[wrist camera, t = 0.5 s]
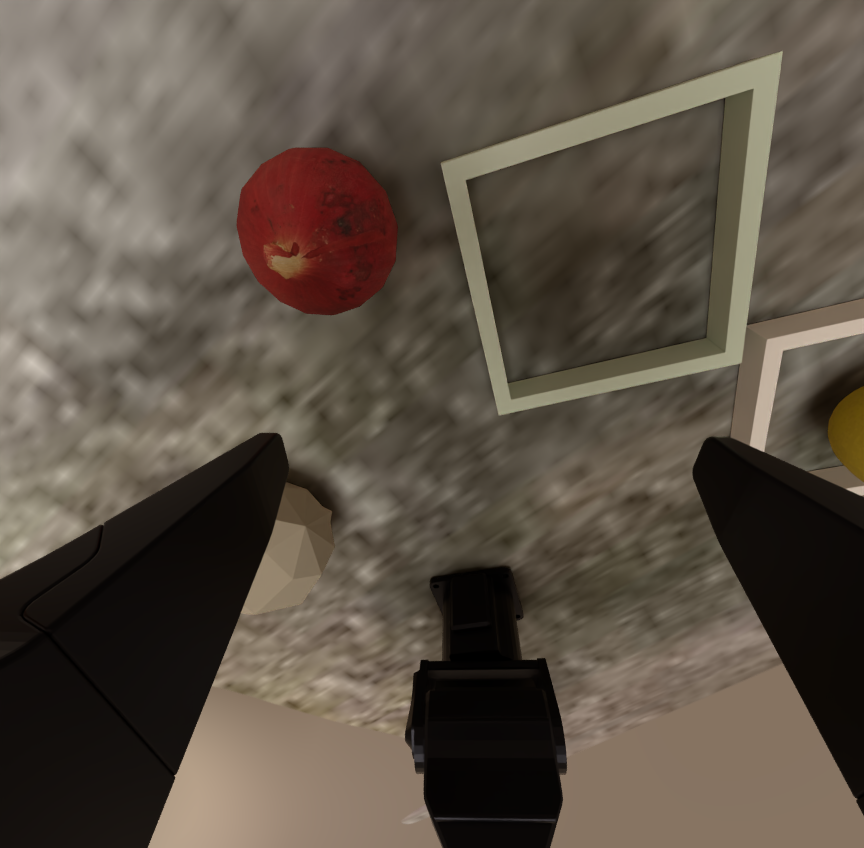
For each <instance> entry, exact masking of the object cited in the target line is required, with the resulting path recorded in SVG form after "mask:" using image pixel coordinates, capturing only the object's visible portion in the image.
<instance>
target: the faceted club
mask: <svg viewBox="0 0 864 848" xmlns="http://www.w3.org/2000/svg"><path fill="white" fill-rule="evenodd" d="M331 515H332V511H330V510H328V509H327V508H325V507H323V506H322V505H321V504H320V503H319V502H318V501H317V500H316V499H315V498H314V497H313V495H312V494H311V493H310V492H309V491H308V490H307V489H305V488H302V487H299V486H296V485H293V484H290V483H288V482H286V484H285V488H284V492H283V495H282V499H281V503H280V507H279V511H278V514H277V518H276V522H275V525H274V529H273V532H272V535H271V538H270V541H269V543H268V546H267V548H266V551H265V553H264V556H263V558H262V561H261V564H260V566H259V569H258V571H257V574H256V576H255V579H254V581H253V584H252V586H251V589H250V591H249V594H248V596H247V599H246V601H245V604H244V606H243V609H242V611H241V613H242V614H252V615H257V614H261V613H265V612H269V611H274V610H278V609H282V608H287V607H291V606H295V605H300V604H302V602H303V601H304V599H305V598H306V597H307V595H308V594H309V592H310V591H311V589H312V588H313V586H314V585H315V584H316V582H317V581H318V579H319V578H320V576H321V575H322V573H323V571H324V569H325V567H326V564H327V562H328V560H329V558H330V556H331V554H332V552H333V550H334V548H335V545H334V539H333V534H332V529H331V523H330V522H331Z"/></svg>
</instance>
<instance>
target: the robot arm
mask: <svg viewBox="0 0 864 848" xmlns="http://www.w3.org/2000/svg"><path fill="white" fill-rule="evenodd" d="M288 472H289V464H288V460H287V455H286V451H285V447H284V443H283V440H282V437H281V435H279V434H278V433H259V434H257V435H255V436H254V437H252V438H250V439H249V440H247V441H245V442H243V443H242V444H240V445H238V446H236V447H235V448H233V449H231V450H229V451H228V452H226V453H224V454H222V455H221V456H219V457H217V458H215V459H214V460H212V461H210V462H209V463H207V464H205V465H203V466H202V467H200V468H198V469H196V470H195V471H193V472H191V473H189V474H188V475H186V476H184V477H182V478H181V479H179V480H177V481H176V482H174V483H172V484H170V485H169V486H167V487H165V488H163V489H162V490H160V491H158V492H156V493H155V494H153V495H151V496H149V497H148V498H146V499H144V500H142V501H141V502H139V503H137V504H136V505H134V506H132V507H130V508H129V509H127V510H125V511H123V512H122V513H120V514H118V515H116V516H115V517H113V518H111V519H109V520H108V521H106V522H105V523H104V526H103V525H99V526H97V527H95V528H94V529H92V530H90V531H88V532H87V533H85V534H83V535H82V536H80V537H78V538H76V539H74V540H73V541H71V542H69V543H67V544H65V545H64V546H62V547H60V548H58V549H57V550H55V551H53V552H51V553H49V554H48V555H46V556H44V557H42V558H40V559H38V560H36V561H34V562H32V563H30V564H29V565H27V566H25V567H23V568H21V569H19V570H17V571H15V572H13V573H11V574H9V575H7V576H6V577H4V578H2V579H0V848H148V845H149V843H150V840H151V838H152V835H153V833H154V830H155V828H156V825H157V823H158V820H159V818H160V815H161V813H162V810H163V808H164V805H165V803H166V800H167V798H168V795H169V793H170V790H171V788H172V785H173V783H174V780H175V776H174V775H176V774H177V772H178V769H179V767H180V764H181V762H182V759H183V757H184V754H185V752H186V749H187V747H188V744H189V742H190V739H191V737H192V734H193V732H194V729H195V727H196V724H197V722H198V719H199V717H200V714H201V712H202V709H203V706H204V704H205V702H206V699H207V696H208V694H209V691H210V689H211V686H212V684H213V681H214V679H215V676H216V674H217V671H218V669H219V666H220V664H221V661H222V659H223V656H224V654H225V651H226V649H227V646H228V644H229V641H230V639H231V636H232V634H233V631H234V629H235V626H236V624H237V621H238V619H239V616H240V614H241V611H242V609H243V606H244V604H245V601H246V599H247V596H248V594H249V591H250V589H251V586H252V584H253V581H254V579H255V576H256V574H257V571H258V569H259V566H260V564H261V561H262V558H263V556H264V553H265V551H266V548H267V546H268V543H269V541H270V538H271V535H272V532H273V529H274V525H275V522H276V518H277V514H278V511H279V507H280V503H281V499H282V495H283V492H284V488H285V484H286V480H287V477H288ZM693 479H694V482H695V484H696V487H697V489H698V492H699V494H700V497H701V499H702V502H703V505H704V507H705V510H706V512H707V515H708V517H709V520H710V522H711V525H712V527H713V530H714V532H715V534H716V537H717V539H718V541H719V543H720V545H721V547H722V549H723V551H724V553H725V555H726V557H727V559H728V561H729V563H730V564H731V566H732V568H733V570H734V572H735V574H736V576H737V578H738V579H739V581H740V583H741V585H742V587H743V589H744V591H745V593H746V595H747V596H748V598H749V600H750V602H751V604H752V606H753V608H754V610H755V611H756V613H757V615H758V617H759V619H760V621H761V623H762V625H763V626H764V628H765V630H766V632H767V634H768V636H769V638H770V640H771V642H772V643H773V645H774V647H775V649H776V651H777V653H778V655H779V657H780V658H781V660H782V662H783V664H784V666H785V668H786V670H787V671H788V673H789V675H790V677H791V679H792V681H793V683H794V685H795V686H796V688H797V690H798V692H799V694H800V696H801V698H802V700H803V701H804V704H805V705H806V707H807V709H808V711H809V713H810V715H811V717H812V718H813V720H814V722H815V724H816V726H817V728H818V730H819V732H820V734H821V735H822V737H823V739H824V741H825V743H826V745H827V747H828V749H829V751H830V752H831V754H832V756H833V758H834V760H835V762H836V763H837V766H838V767H839V769H840V771H841V773H842V775H843V777H844V778H845V781H846V782H847V784H848V786H849V788H850V790H851V792H852V794H853V796H854V797H855V798H857V800H856V801H857V804H858V806H859V808H860V809H861V811H862V813H863V815H864V497H863V496H860V495H858V494H856V493H854V492H851V491H849V490H847V489H845V488H843V487H840V486H838V485H836V484H834V483H831V482H829V481H827V480H825V479H823V478H820V477H818V476H816V475H814V474H812V473H809V472H807V471H805V470H803V469H800V468H798V467H796V466H794V465H792V464H789V463H787V462H785V461H783V460H780V459H778V458H776V457H774V456H772V455H769V454H767V453H765V452H763V451H760V450H758V449H756V448H754V447H752V446H749V445H747V444H745V443H743V442H740V441H738V440H736V439H734V438H731V437H709V438H707V439H706V440H705V441H704V443H703V445H702V447H701V450H700V452H699V454H698V457H697V459H696V462H695V464H694V466H693ZM430 588H431V591H432V593H433V595H434V597H435V599H436V601H437V604H438V606H439V608H440V610H441V612H442V615H443V639H442V661H429V660H421V662H420V670H419V671H417V672H415V673H414V676H413V691H412V701H411V706H410V711H409V716H408V721H407V726H406V731H405V741H406V743H407V744H408V746H409V747H410V748H411V749H412V755H413V759H414V762H415V771H416V773H417V774H424V800H425V804H426V807H427V809H428V812H429V815H430V818H431V821H432V824H433V826H434V829H435V831H436V833H437V836H438V838H439V841H440V843H441V846H442V848H550V846H551V842H552V839H553V835H554V832H555V828H556V825H557V821H558V818H559V814H560V810H561V807H562V801H563V797H562V788H561V782H560V776H559V775H563V774H564V775H565V774H566V771H567V758H566V746H565V738H564V732H563V726H562V721H561V716H560V712H559V708H558V704H557V701H556V697H555V693H554V689H553V685H552V682H551V678H550V674H549V670H548V667H547V663H546V659H545V658H537V660H522V656H521V649H520V642H519V635H518V628H517V621H516V620H520V619H522V618H523V611H522V607H521V603H520V600H519V596H518V593H517V589H516V585H515V582H514V578H513V575H512V571H511V569H509V568H498V569H491V570H485V571H478V572H472V573H465V574H458V575H452V576H445V577H439V578H433V579H431V580H430Z"/></svg>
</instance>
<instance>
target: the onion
mask: <svg viewBox="0 0 864 848" xmlns="http://www.w3.org/2000/svg"><path fill="white" fill-rule="evenodd" d="M237 230H238V234H239V239H240V243H241V248H242V252H243V256H244V258H245V259H246V261H247V263H248V265H249V266H250V268H251V270H252V272H253V273H254V275H255V277H256V279H257V280H258V282H259V283H260V284H262V285H263V286H264V287H265V288H266V289H267V290H268V291H269V292H270V293H271V294H273V295H274V296H275V297H276V298H277V299H278V300H279V301H280V302H282V303H284V304H287V305H289V306H291V307H293V308H295V309H298V310H300V311H302V312H304V313H306V314H320V315H336V314H339V313H342V312H345V311H348V310H351V309H354V308H357V307H360V306H361V305H362V304H363V303H365V302H366V301H367V300H368V299H369V298H371V297H372V296H373V295H374V294H375V293H376V292H378V291H379V290H380V289H381V288H382V287H383V286H384V284H385V282H386V280H387V277H388V275H389V273H390V271H391V269H392V267H393V265H394V263H395V261H396V246H397V231H398V226H397V222H396V219H395V217H394V214H393V211H392V208H391V205H390V202H389V199H388V196H387V194H386V191H385V190H384V189H383V188H382V187H381V186H380V184H379V183H378V182H377V181H376V180H375V179H374V178H373V177H372V175H371V174H370V173H369V172H368V171H367V170H366V169H365V167H364V166H363V165H362V164H361V163H360V162H359V161H356V160H354V159H352V158H349V157H347V156H345V155H343V154H340V153H338V152H336V151H334V150H331V149H329V148H292V149H288V150H286V151H284V152H283V153H281V154H279V155H277V156H275V157H274V158H272V159H270V160H268V161H266V162H265V163H263V164H261V165H260V167H259V168H258V169H257V170H256V172H255V173H254V174H253V175H252V177H251V178H250V179H249V180H248V182H247V183H246V184H245V185H244V187H243V188H242V190H241V194H240V201H239V208H238V216H237Z"/></svg>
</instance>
